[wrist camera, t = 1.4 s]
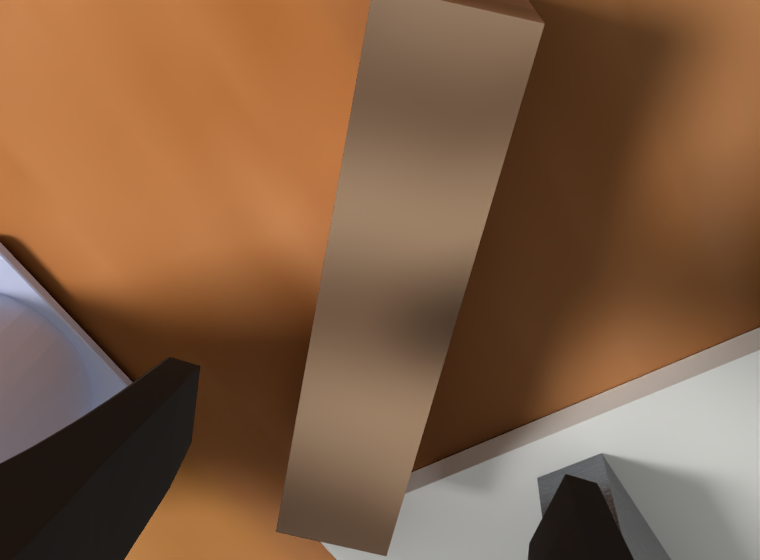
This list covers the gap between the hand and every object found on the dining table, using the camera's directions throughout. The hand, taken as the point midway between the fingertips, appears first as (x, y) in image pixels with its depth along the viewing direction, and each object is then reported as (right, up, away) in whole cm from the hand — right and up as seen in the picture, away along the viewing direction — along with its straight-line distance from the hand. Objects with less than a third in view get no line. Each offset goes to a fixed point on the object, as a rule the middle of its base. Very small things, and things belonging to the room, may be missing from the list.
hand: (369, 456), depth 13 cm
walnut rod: (+1, +4, +9) cm, 10 cm away
